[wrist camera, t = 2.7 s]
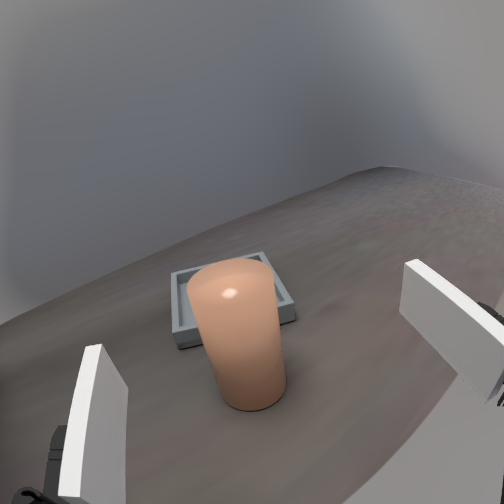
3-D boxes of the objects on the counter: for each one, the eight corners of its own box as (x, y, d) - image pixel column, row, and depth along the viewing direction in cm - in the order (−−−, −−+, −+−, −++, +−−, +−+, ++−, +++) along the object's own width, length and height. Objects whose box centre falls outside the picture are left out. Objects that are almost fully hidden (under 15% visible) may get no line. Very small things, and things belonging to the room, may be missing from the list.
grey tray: (178, 349, 34) (172, 332, 33) (175, 287, 46) (171, 273, 45) (295, 319, 36) (293, 302, 35) (264, 266, 48) (262, 251, 47)
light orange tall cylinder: (226, 418, 25) (189, 316, 20) (215, 369, 31) (184, 269, 25) (295, 399, 26) (284, 292, 21) (275, 353, 32) (260, 251, 26)
